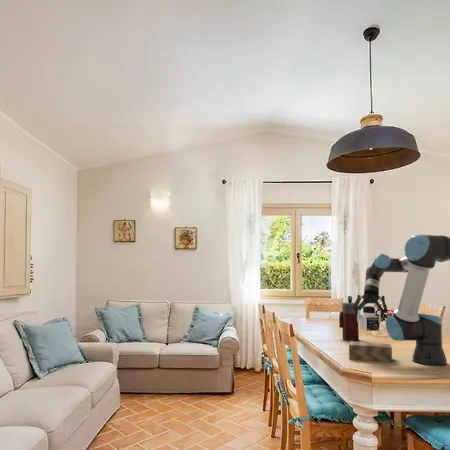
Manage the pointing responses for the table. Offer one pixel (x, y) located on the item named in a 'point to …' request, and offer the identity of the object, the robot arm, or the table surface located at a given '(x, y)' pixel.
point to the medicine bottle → (369, 319)
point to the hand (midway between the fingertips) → (368, 321)
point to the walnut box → (370, 351)
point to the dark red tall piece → (349, 321)
